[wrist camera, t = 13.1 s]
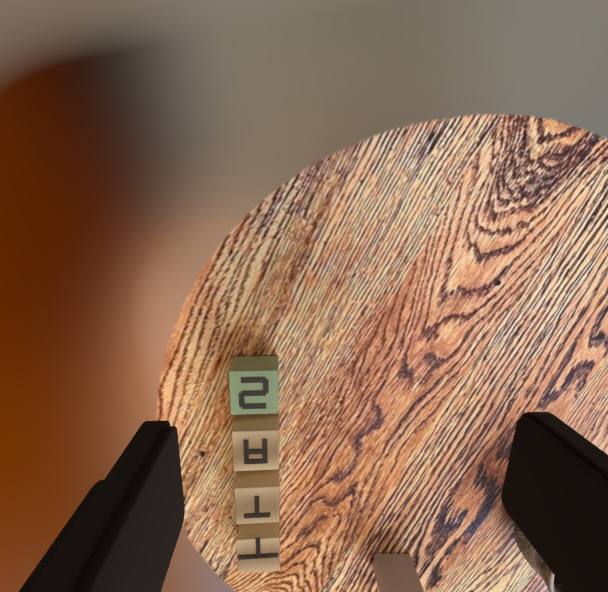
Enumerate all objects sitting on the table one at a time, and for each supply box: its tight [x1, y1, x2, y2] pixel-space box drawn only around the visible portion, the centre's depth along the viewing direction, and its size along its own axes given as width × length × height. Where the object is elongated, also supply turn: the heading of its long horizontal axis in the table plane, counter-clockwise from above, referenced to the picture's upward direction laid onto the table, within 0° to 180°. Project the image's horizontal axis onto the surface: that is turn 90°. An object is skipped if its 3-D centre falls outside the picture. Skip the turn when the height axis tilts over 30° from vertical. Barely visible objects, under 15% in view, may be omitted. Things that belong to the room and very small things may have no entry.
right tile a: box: [232, 410, 279, 471], centre depth 29 cm, size 4×4×3 cm
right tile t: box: [234, 469, 279, 524], centre depth 30 cm, size 4×4×3 cm
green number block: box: [229, 356, 278, 415], centre depth 27 cm, size 4×4×3 cm
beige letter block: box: [237, 510, 280, 573], centre depth 31 cm, size 4×4×3 cm
